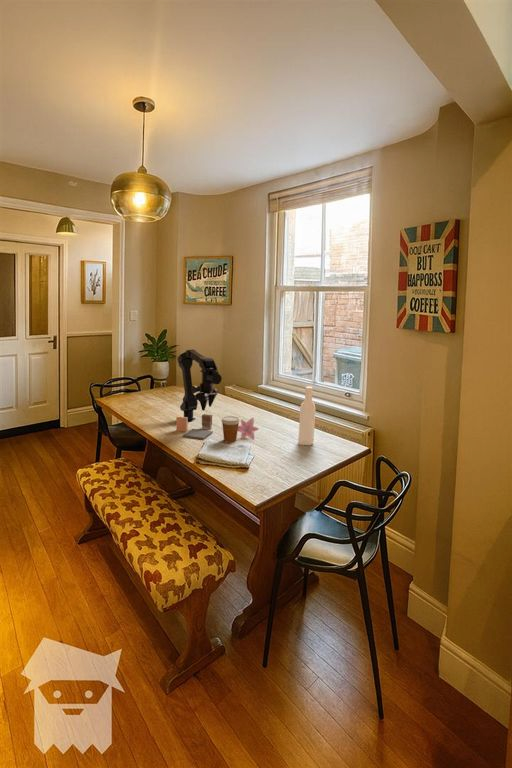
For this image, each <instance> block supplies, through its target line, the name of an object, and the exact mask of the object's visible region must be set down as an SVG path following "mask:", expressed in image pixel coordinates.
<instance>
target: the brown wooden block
mask: <svg viewBox="0 0 512 768" xmlns="http://www.w3.org/2000/svg"><path fill="white" fill-rule="evenodd" d="M212 425H213V414H208V413H207V414H205V413H203V414H201V430H207V431H212V428H213V427H212Z"/></svg>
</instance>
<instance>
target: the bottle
mask: <svg viewBox="0 0 512 768" xmlns="http://www.w3.org/2000/svg"><path fill="white" fill-rule="evenodd" d="M313 391H314V387H313V386H306V387H305V391H304V393H305V394H304V400H303V401H302V402H301V404H300V408H299V421H298V422H299V423H298V424H299V426H298V438H297V440H298V441H297V442H298V444H299V445H300V446H304V445H310V446H312V445H311V444H313V445H314V440H315V439H314V436H315V435H314V434H315V422H316V410H317V409H316V404H315V402H314V401H313Z"/></svg>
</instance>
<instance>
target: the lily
mask: <svg viewBox="0 0 512 768" xmlns="http://www.w3.org/2000/svg"><path fill="white" fill-rule="evenodd" d="M254 419H255V418H254V417H251V418H250V419H249V420H247V421H245V420H244V419H240V425H238V432H239V433H241V434H240V435H241V436H240V439H241V440H243V439H244V438H245V437H249V438H250V439H251V440H255V433H254V432H257V431H259V430H260V428H258V427H257V426H254V424H255V423H254V422H255V420H254Z"/></svg>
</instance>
